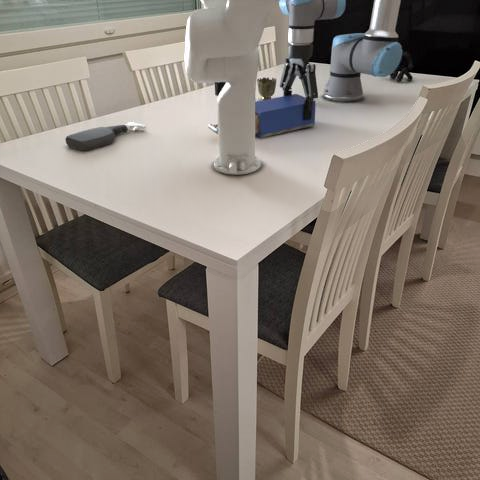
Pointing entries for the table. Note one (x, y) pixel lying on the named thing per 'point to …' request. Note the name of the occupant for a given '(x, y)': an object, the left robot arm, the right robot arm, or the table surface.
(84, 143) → the spray bottle
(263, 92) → the cup
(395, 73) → the squiggle
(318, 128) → the table surface
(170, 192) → the table surface
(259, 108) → the blue box
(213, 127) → the drawer
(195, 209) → the table surface
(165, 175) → the table surface
